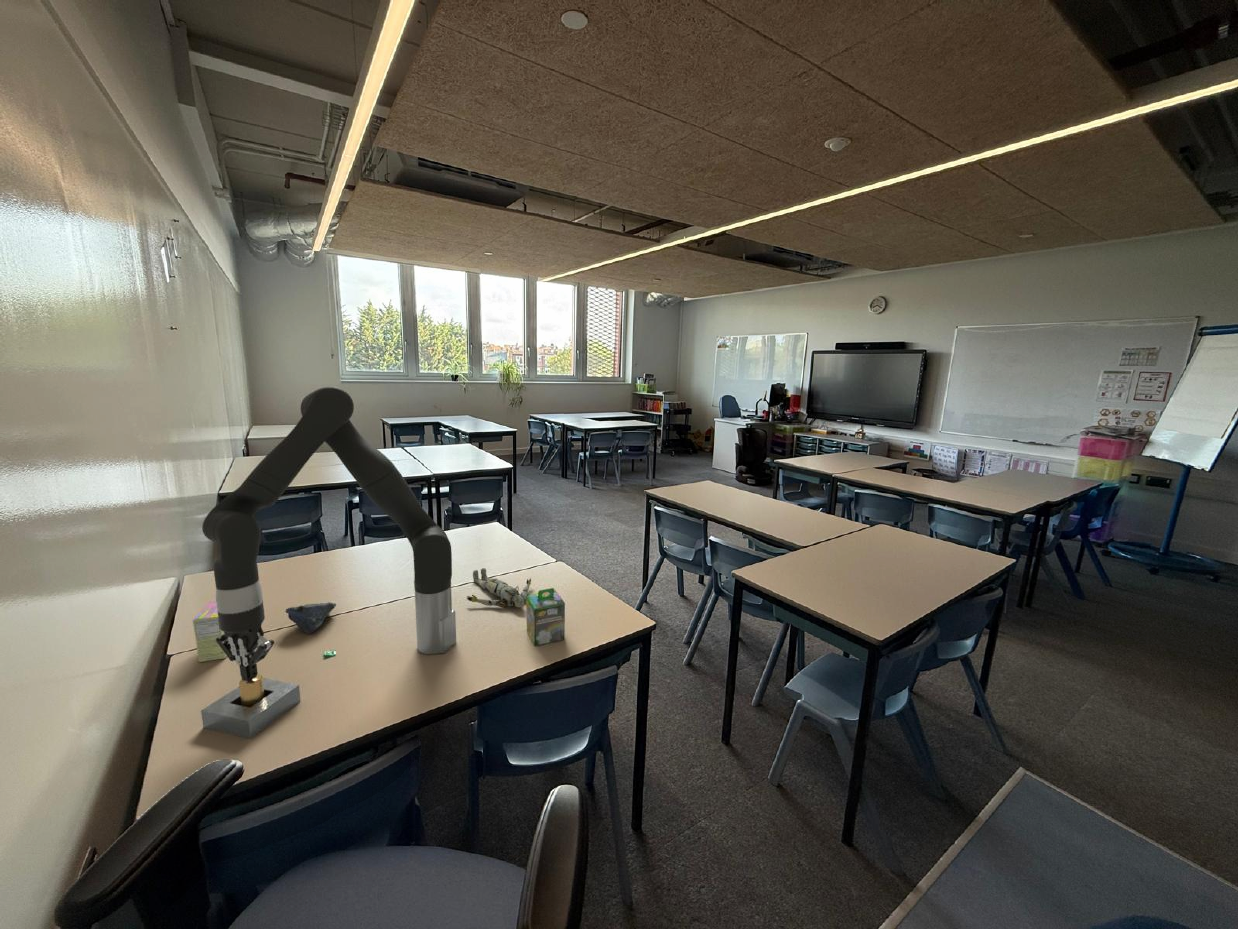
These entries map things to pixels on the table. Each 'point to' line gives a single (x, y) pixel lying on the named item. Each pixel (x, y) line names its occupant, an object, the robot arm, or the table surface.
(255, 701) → the cylinder
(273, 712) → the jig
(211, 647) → the box
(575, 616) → the table surface
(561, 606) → the chalk box
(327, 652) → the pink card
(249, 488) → the robot arm
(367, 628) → the table surface
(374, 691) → the table surface
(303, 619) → the rock
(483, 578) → the action figure
